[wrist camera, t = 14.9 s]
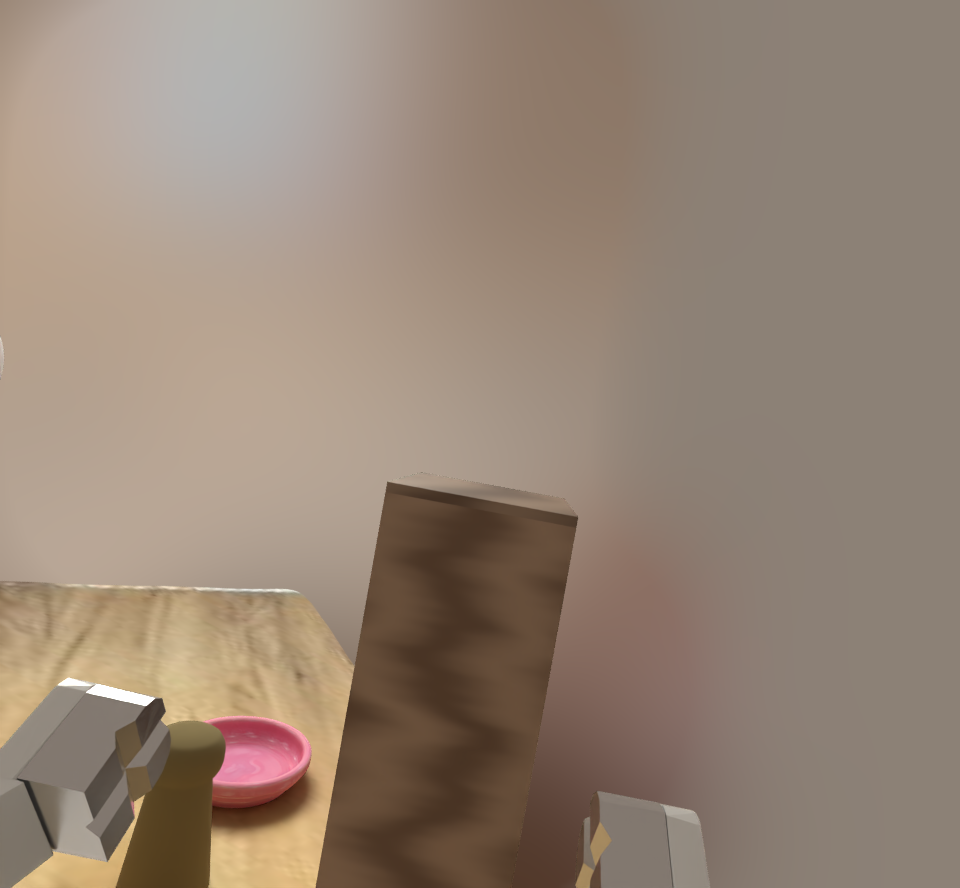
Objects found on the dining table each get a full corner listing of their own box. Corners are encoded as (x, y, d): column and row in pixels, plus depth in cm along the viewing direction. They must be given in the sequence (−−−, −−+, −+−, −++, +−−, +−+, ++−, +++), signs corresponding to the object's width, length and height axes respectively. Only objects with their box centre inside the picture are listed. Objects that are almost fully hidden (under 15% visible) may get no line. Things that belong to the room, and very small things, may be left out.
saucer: (308, 821, 55) (314, 785, 55) (150, 821, 52) (156, 783, 52) (305, 746, 67) (310, 717, 67) (176, 743, 64) (181, 711, 64)
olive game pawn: (116, 860, 47) (142, 711, 47) (206, 848, 50) (230, 708, 49) (113, 923, 41) (142, 755, 41) (213, 905, 44) (241, 748, 44)
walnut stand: (269, 1145, 31) (387, 481, 30) (332, 973, 41) (421, 472, 40) (455, 1193, 30) (578, 517, 30) (472, 1006, 40) (564, 498, 40)
